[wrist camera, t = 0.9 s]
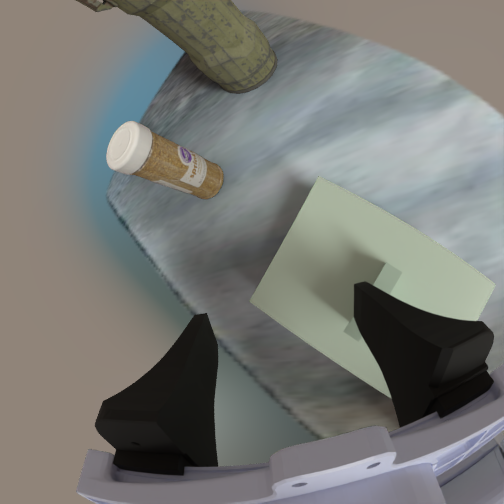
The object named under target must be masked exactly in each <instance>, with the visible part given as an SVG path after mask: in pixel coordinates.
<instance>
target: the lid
mask: <svg viewBox="0 0 504 504" xmlns="http://www.w3.org/2000/svg"><path fill="white" fill-rule="evenodd" d="M364 281H366V282H368V283H370V284H372V285H373V286H375V287H377V288H379V289H381V290H382V291H384V292H386V293H388V294H389V295H391V296H393V297H395V298H397V299H399V300H401V301H403V302H405V303H407V304H409V305H411V306H414V307H416V308H419V309H421V310H424V311H427V312H430V313H433V314H437V315H440V316H444V317H449V318H454V319H460V320H469V321H477V320H478V318H479V316H480V314H481V312H482V311H483V309H484V307H485V305H486V303H487V301H488V299H489V297H490V295H491V293H492V291H493V289H494V287H495V285H496V284H494V283H493V282H492V281H490V280H489V279H488V278H487V277H485V276H484V275H483V274H481V273H480V272H479V271H477V270H476V269H475V268H473V267H472V266H470V265H469V264H468V263H466V262H465V261H463V260H462V259H461V258H459V257H458V256H456V255H455V254H453V253H452V252H450V251H449V250H448V249H446V248H445V247H443V246H442V245H440V244H439V243H437V242H435V241H434V240H432V239H431V238H429V237H428V236H426V235H425V234H423V233H421V232H420V231H418V230H417V229H415V228H413V227H412V226H410V225H408V224H407V223H405V222H403V221H402V220H400V219H398V218H397V217H395V216H393V215H391V214H390V213H388V212H386V211H384V210H383V209H381V208H379V207H377V206H375V205H374V204H372V203H370V202H368V201H366V200H364V199H363V198H361V197H359V196H357V195H355V194H353V193H351V192H349V191H347V190H345V189H343V188H341V187H339V186H337V185H335V184H333V183H331V182H329V181H327V180H325V179H323V178H321V177H319V176H318V178H317V180H316V182H315V184H314V186H313V187H312V189H311V191H310V193H309V195H308V197H307V199H306V200H305V202H304V204H303V206H302V208H301V210H300V211H299V213H298V215H297V217H296V219H295V221H294V222H293V224H292V226H291V228H290V230H289V232H288V233H287V235H286V237H285V239H284V241H283V242H282V244H281V246H280V248H279V250H278V251H277V253H276V255H275V257H274V258H273V260H272V262H271V264H270V266H269V267H268V269H267V271H266V273H265V274H264V276H263V278H262V280H261V282H260V283H259V285H258V287H257V289H256V290H255V292H254V294H253V296H252V297H251V299H250V301H249V302H251V303H252V304H253V305H255V306H256V307H258V308H259V309H260V310H262V311H263V312H264V313H266V314H267V315H268V316H270V317H271V318H273V319H274V320H275V321H277V322H278V323H280V324H281V325H282V326H284V327H285V328H287V329H288V330H289V331H291V332H292V333H294V334H295V335H296V336H298V337H299V338H301V339H302V340H304V341H305V342H306V343H308V344H309V345H311V346H312V347H314V348H315V349H317V350H318V351H319V352H321V353H322V354H324V355H325V356H327V357H328V358H330V359H331V360H333V361H334V362H336V363H337V364H339V365H340V366H342V367H343V368H345V369H346V370H348V371H349V372H351V373H352V374H354V375H355V376H357V377H358V378H360V379H361V380H363V381H364V382H366V383H367V384H369V385H371V386H372V387H374V388H375V389H377V390H378V391H380V392H381V393H383V394H385V395H386V396H388V397H389V398H391V395H390V392H389V389H388V386H387V384H386V381H385V379H384V376H383V374H382V371H381V369H380V367H379V365H378V363H377V362H376V360H375V358H374V356H373V355H372V353H371V351H370V349H369V348H368V346H367V344H366V343H365V341H364V339H363V337H362V336H361V334H360V332H359V329H358V327H357V324H356V322H355V319H354V284H356V283H360V282H364ZM391 399H392V398H391Z"/></svg>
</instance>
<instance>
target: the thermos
mask: <svg viewBox="0 0 504 504" xmlns="http://www.w3.org/2000/svg"><path fill="white" fill-rule="evenodd" d="M76 1H78V2H80V3H82V4H84V5H85V6H87V7H89V8H90V9H92V10H94V11H95V12H100V11H103V10H108V9H111V8H112V7H118V8H119V9H121V10H123V11H124V12H126V13H127V14H130V15H136V16H140V17H141V18H143V19H144V20H146V21H147V22H148V23H149V24H151V25H152V26H153V27H155V28H156V29H157V30H159V31H160V32H161V33H163V34H164V35H165V36H167V37H168V38H169V39H170V40H172V41H173V42H174V43H175V44H177V45H178V46H179V47H180V48H181V49H183V50H184V51H185V52H186V53H188V55H189V57H190V59H191V61H192V62H193V63H194V64H195V65H196V66H197V67H198V69H199V70H201V71H202V72H203V73H204V74H205V75H206V76H208V77H209V78H210V79H211V80H212V81H214V82H216V83H218V84H219V85H220V86H221V87H222V88H223V89H224V90H226V91H228V92H230V93H237V94H239V93H245V92H249V91H251V90H254V89H256V88H258V87H259V86H261V85H262V84H264V83H265V82H266V81H267V80H268V79H269V78H270V77H271V76H272V75H273V73H274V71H275V69H276V67H277V57H276V54H275V52H274V51H273V50H272V49H271V48H270V45H269V42H268V40H267V39H266V37H265V36H264V35H263V33H262V32H261V30H260V29H259V28H258V26H257V25H256V24H255V22H254V21H252V20H250V19H249V18H247V17H245V16H243V14H242V13H241V12H240V11H239V9H238V8H237V7H236V6H235V5H234V3H233V2H232V1H231V0H103V1H104V2H103V3H101V2H99V1H97V0H76Z"/></svg>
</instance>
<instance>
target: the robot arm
mask: <svg viewBox="0 0 504 504" xmlns="http://www.w3.org/2000/svg"><path fill="white" fill-rule="evenodd" d="M354 319H355V322H356V324H357V327H358V329H359V332H360V334H361V336H362V337H363V339H364V341H365V343H366V344H367V346H368V348H369V349H370V351H371V353H372V355H373V356H374V358H375V360H376V362H377V363H378V365H379V367H380V369H381V371H382V374H383V376H384V379H385V381H386V384H387V386H388V389H389V392H390V395H391V398H392V401H393V404H394V407H395V411H396V414H397V417H398V421H399V425H400V428H398V429H396V430H393V431H391V432H388V431H387V428H386V427H382V426H376V425H375V426H370V427H365V428H361V429H358V430H355V431H351V432H348V433H344V434H341V435H337V436H333V437H329V438H325V439H321V440H317V441H312V442H308V443H303V444H298V445H294V446H290V447H287V448H283V449H281V450H279V451H277V452H276V453H274V454H273V455H271V457H270V460H269V462H268V463H259V464H249V465H238V466H220V467H218V460H217V451H216V439H215V423H214V398H215V388H216V379H217V369H218V344H217V341H216V338H215V335H214V333H213V330H212V327H211V324H210V321H209V318H208V315H207V313H205V314H198V315H194V317H193V318H192V319H191V321H190V322H189V324H188V325H187V327H186V328H185V330H184V331H183V333H182V334H181V335H180V337H179V338H178V339H177V341H176V342H175V343H174V345H173V346H172V347H171V348H170V350H169V351H168V352H167V353H166V354H165V356H164V357H163V358H162V359H161V360H160V361H159V362H158V363H157V364H156V365H155V366H154V367H153V368H152V369H151V370H150V371H148V372H147V373H146V374H145V375H144V376H142V377H141V378H140V379H139V380H137V381H136V382H135V383H133V384H132V385H130V386H129V387H127V388H126V389H124V390H123V391H121V392H119V393H118V394H116V395H114V396H112V397H110V398H108V399H107V400H104V401H103V403H102V406H101V408H100V411H99V414H98V417H97V419H96V422H95V427H96V429H97V431H98V432H99V434H100V435H101V436H102V437H103V438H104V439H105V440H106V441H107V442H109V443H110V444H111V445H112V446H113V447H114V448H115V449H116V453H115V455H113V454H111V453H108V452H103V451H98V450H92V449H88V452H87V455H86V458H85V462H84V465H83V468H82V472H81V475H80V479H79V483H78V486H77V490H76V492H77V493H78V494H79V495H81V496H83V497H85V498H86V499H88V500H90V501H92V502H94V503H96V504H504V435H503V433H502V431H503V430H504V363H503V364H502V365H500V366H499V367H497V368H496V369H495V370H494V371H492V373H491V374H490V375H489V374H488V372H487V371H486V370H487V369H488V365H487V364H486V363H485V360H486V358H487V356H488V354H489V352H490V349H491V347H492V344H493V340H494V334H493V332H492V331H491V330H490V329H489V328H488V327H487V326H486V325H485V324H484V323H483V322H482V321H469V320H460V319H454V318H449V317H444V316H440V315H437V314H433V313H430V312H427V311H424V310H421V309H419V308H416V307H414V306H411V305H409V304H407V303H405V302H403V301H401V300H399V299H397V298H395V297H393V296H391V295H389V294H388V293H386V292H384V291H382V290H381V289H379V288H377V287H375V286H373V285H372V284H370V283H368V282H366V281H364V282H360V283H356V284H354Z"/></svg>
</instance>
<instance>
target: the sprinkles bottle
mask: <svg viewBox="0 0 504 504" xmlns="http://www.w3.org/2000/svg"><path fill="white" fill-rule="evenodd" d="M107 163H108V165H109V167H110V168H111V169H112V170H115V171H118V172H121V173H124V174H130V175H136V176H140V177H142V178H145V179H148V180H150V181H152V182H155V183H158V184H161V185H164V186H167V187H170V188H173V189H176V190H179V191H182V192H185V193H190V194H192V195H195V196H197V197H199V198H201V199H208V198H211V197H214V196H215V195H216V194H217V193H218V191H219V190H220V188H221V186H222V184H223V171H222V169H221V168H220V167H219V166H218V165H217V164H215V163H211V162H209V161H208V160H206V159H204V158H202V157H201V156H200V155H198V154H196V153H194V152H192V151H190V150H188V149H186V148H184V147H181V146H179V145H177V144H175V143H173V142H171V141H169V140H167V139H165V138H163V137H161V136H159V135H157V134H155V133H153V132H151V131H150V129H149V128H147V127H145V126H143V125H141V124H139V123H137V122H134V121H129V122H126V123H124V124H123V125H121V126H120V127H119V128H118V129H117V131H116V132H115V133H114V135H113V136H112V139H111V140H110V143H109V146H108V149H107Z"/></svg>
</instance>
